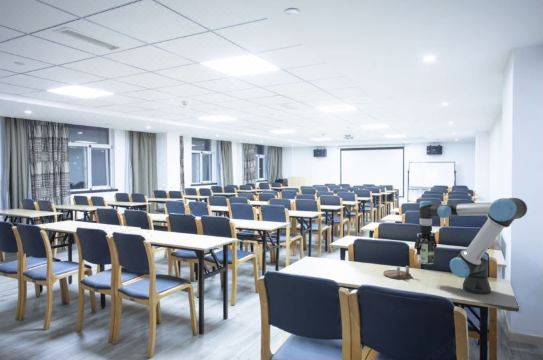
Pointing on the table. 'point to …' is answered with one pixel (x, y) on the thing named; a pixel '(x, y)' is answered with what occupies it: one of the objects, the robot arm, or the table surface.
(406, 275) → the locating disc
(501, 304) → the table surface
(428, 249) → the coffee can
